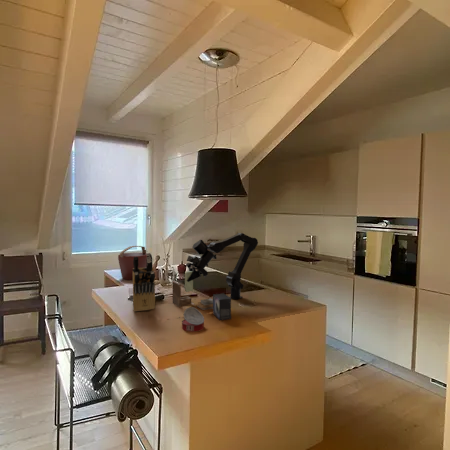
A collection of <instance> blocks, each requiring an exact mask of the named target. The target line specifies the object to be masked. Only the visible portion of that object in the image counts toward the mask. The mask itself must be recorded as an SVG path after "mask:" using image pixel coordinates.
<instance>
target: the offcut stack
mask: <svg viewBox="0 0 450 450" xmlns="http://www.w3.org/2000/svg"><path fill="white" fill-rule="evenodd" d="M196 306H197V308H199V309H201V310H203V311H207V310H213V298H205V299H200V302H197V305H196Z"/></svg>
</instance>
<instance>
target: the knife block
mask: <svg viewBox="0 0 450 450" xmlns="http://www.w3.org/2000/svg"><path fill="white" fill-rule="evenodd" d="M146 253H147V264H146V268H138V265H139V263H138V257H134V260H133V265H134V268H133V280H132V300H133V301H132V303H133V312H140V311H141V312H142V311H150V310H156V284H155V283H156V281H155V280H156V273H155V268H154V267H153V256H152V254H151V252H146Z"/></svg>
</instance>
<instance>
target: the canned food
mask: <svg viewBox="0 0 450 450" xmlns="http://www.w3.org/2000/svg"><path fill="white" fill-rule="evenodd" d="M182 314H183V318H184V319H183V320H182V321H181V329H182V330H183V331H186V332H192V333H193V332H199V331H202V330H203V329H204V328H205V317H204V315H203V314H202V313H201V311H199V309H197V308H196V307H194V306H193V307H192V306H189V307H187V308H186V309H185V310H184V312H183V313H182Z"/></svg>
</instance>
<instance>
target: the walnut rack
mask: <svg viewBox="0 0 450 450" xmlns="http://www.w3.org/2000/svg"><path fill="white" fill-rule="evenodd" d="M181 288H182V287H181V283H179V282H177V281H175V280H174V281H172V304H174V305H175V306H177V308H179V307H186V306H193V305H194V306H195V305H196V303H194V302H193V301H192V298H191V297H190V296H181V295H182V294H181V293H182V291H181Z"/></svg>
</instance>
